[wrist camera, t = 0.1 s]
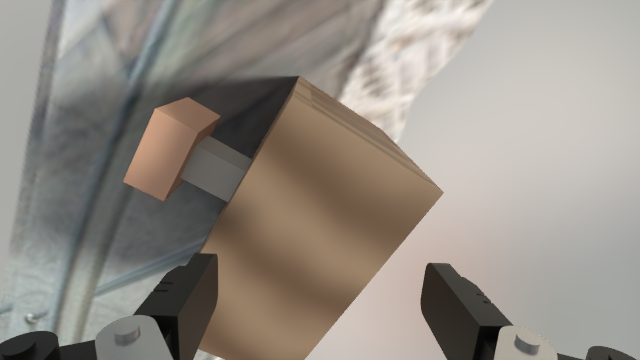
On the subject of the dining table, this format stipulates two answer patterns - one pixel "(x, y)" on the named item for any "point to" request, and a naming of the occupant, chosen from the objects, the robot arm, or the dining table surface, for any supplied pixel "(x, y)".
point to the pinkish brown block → (185, 153)
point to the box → (308, 227)
